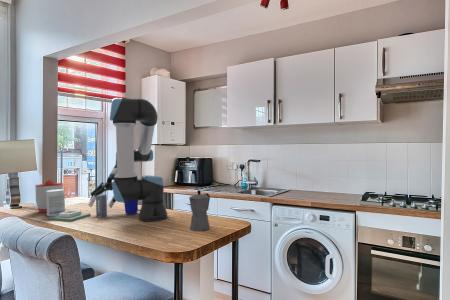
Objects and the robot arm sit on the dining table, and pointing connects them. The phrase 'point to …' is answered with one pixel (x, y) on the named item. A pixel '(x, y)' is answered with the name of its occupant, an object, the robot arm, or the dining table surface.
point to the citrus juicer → (41, 193)
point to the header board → (69, 216)
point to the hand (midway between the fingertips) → (99, 206)
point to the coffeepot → (199, 212)
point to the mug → (131, 207)
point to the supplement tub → (55, 202)
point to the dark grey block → (101, 205)
